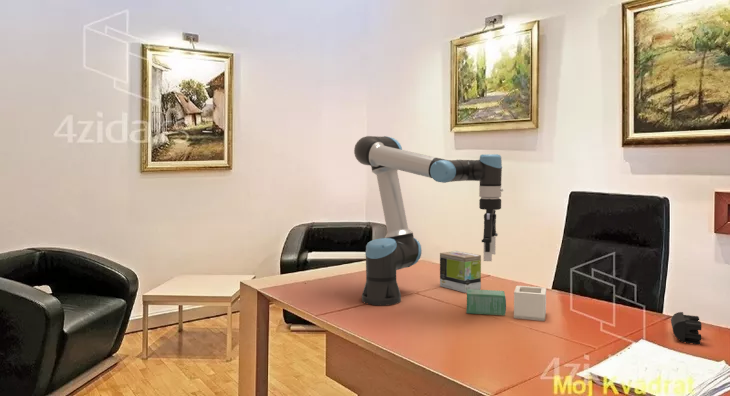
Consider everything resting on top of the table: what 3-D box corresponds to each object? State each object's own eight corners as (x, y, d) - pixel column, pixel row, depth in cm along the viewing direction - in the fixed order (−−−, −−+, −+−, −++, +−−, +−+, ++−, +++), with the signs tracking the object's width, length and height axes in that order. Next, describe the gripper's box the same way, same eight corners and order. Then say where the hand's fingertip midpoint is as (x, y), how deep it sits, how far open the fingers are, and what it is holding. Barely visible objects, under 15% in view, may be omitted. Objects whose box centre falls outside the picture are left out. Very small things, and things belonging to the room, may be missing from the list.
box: (506, 316, 182) (506, 294, 182) (466, 314, 185) (466, 293, 184) (504, 310, 189) (504, 289, 189) (466, 308, 192) (466, 288, 192)
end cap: (670, 332, 164) (671, 310, 164) (697, 335, 161) (698, 313, 160) (672, 342, 155) (673, 319, 155) (700, 345, 152) (701, 322, 151)
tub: (513, 318, 179) (514, 292, 179) (516, 310, 189) (516, 285, 188) (544, 321, 176) (545, 294, 175) (545, 312, 185) (546, 287, 184)
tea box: (481, 290, 218) (481, 254, 217) (464, 293, 213) (464, 257, 212) (456, 283, 231) (456, 249, 230) (439, 286, 225) (438, 252, 224)
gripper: (498, 201, 173) (497, 264, 175) (503, 195, 197) (503, 251, 198) (475, 200, 175) (474, 263, 177) (483, 195, 199) (482, 250, 201)
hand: (489, 257), depth 188 cm, fingers open, 13 cm apart
